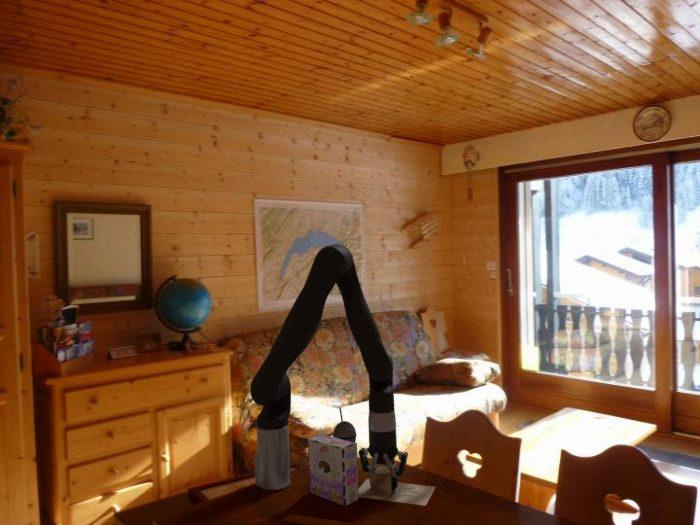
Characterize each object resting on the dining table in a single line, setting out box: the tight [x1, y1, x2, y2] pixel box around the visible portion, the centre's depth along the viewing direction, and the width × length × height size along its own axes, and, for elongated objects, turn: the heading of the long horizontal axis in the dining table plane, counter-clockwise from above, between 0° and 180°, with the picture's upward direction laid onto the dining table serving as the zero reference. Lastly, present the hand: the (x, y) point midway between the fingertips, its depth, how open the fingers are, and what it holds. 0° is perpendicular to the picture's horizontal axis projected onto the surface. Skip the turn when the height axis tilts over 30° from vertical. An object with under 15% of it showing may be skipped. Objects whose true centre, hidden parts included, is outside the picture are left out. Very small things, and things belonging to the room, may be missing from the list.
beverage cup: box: [332, 407, 358, 443], centre depth 167 cm, size 7×7×20 cm
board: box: [358, 478, 436, 507], centre depth 149 cm, size 20×12×2 cm, turn 69°
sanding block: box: [369, 465, 393, 497], centre depth 150 cm, size 5×8×5 cm, turn 159°
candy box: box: [307, 433, 360, 507], centre depth 148 cm, size 14×6×16 cm, turn 47°
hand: (384, 488), depth 150 cm, fingers closed on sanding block, 5 cm apart
